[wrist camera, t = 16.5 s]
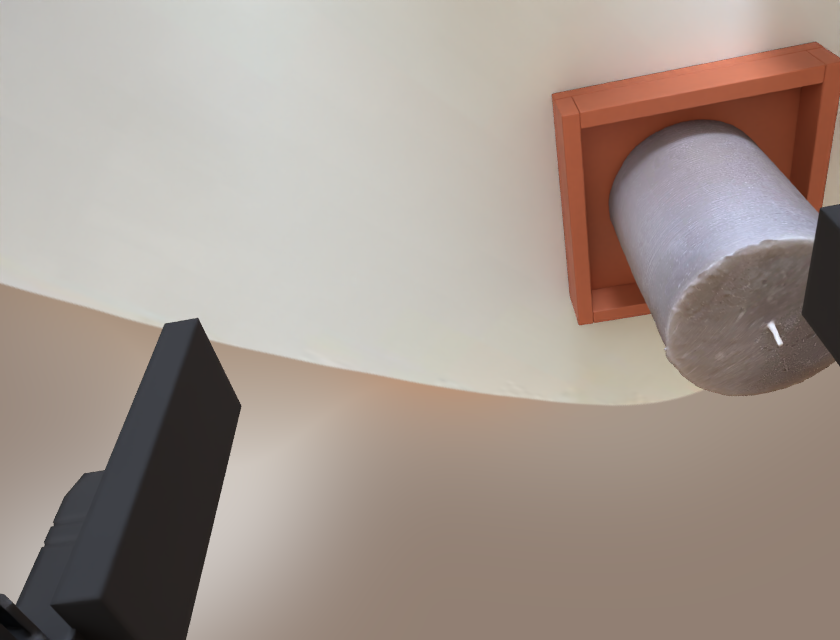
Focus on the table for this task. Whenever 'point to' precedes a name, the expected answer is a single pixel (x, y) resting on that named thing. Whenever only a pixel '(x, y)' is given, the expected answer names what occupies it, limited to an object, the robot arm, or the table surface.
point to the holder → (667, 105)
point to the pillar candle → (720, 257)
